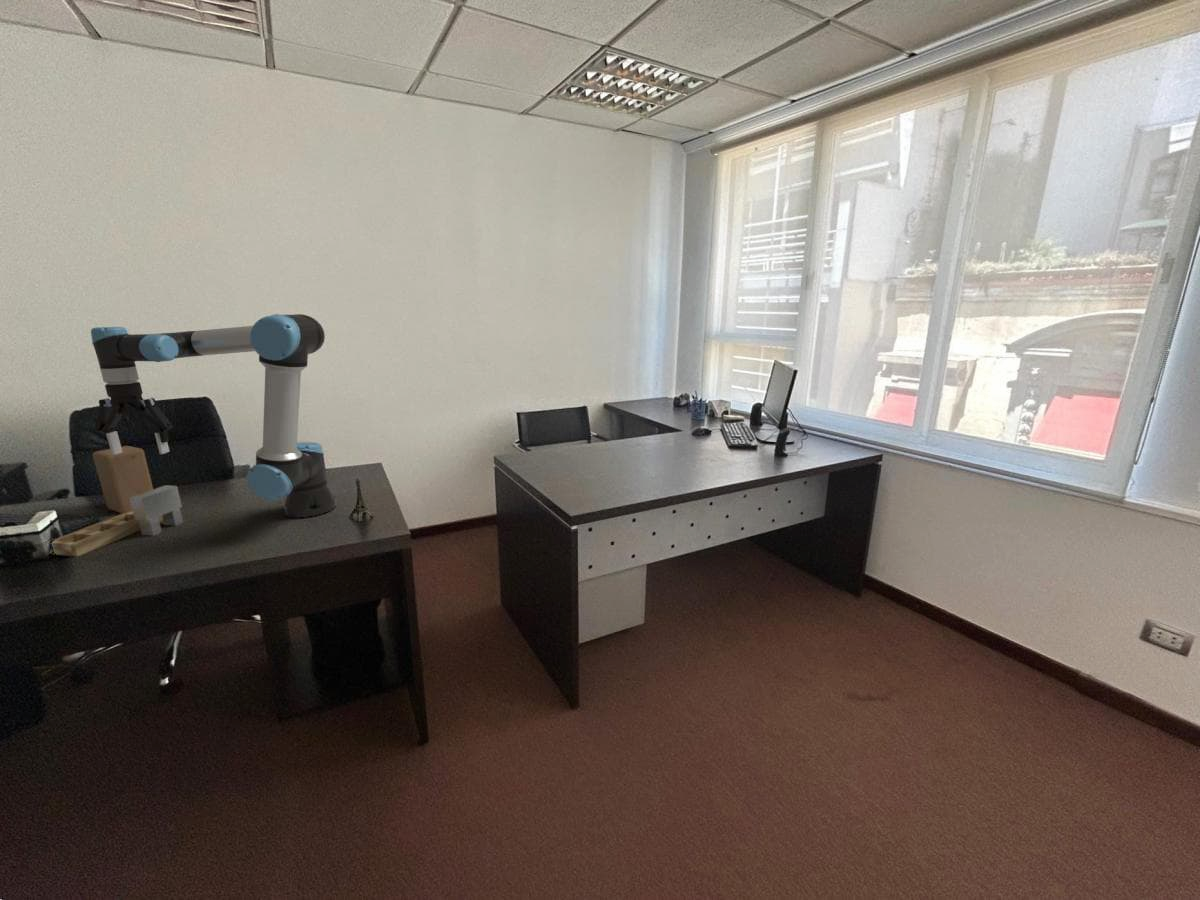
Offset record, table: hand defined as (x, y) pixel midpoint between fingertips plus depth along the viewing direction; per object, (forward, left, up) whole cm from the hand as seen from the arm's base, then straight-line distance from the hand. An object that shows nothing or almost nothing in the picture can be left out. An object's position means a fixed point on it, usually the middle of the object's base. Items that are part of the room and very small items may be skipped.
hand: (141, 453), depth 150 cm
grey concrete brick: (-4, +2, -23) cm, 24 cm away
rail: (+6, +7, -23) cm, 25 cm away
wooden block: (+22, -11, -24) cm, 34 cm away
